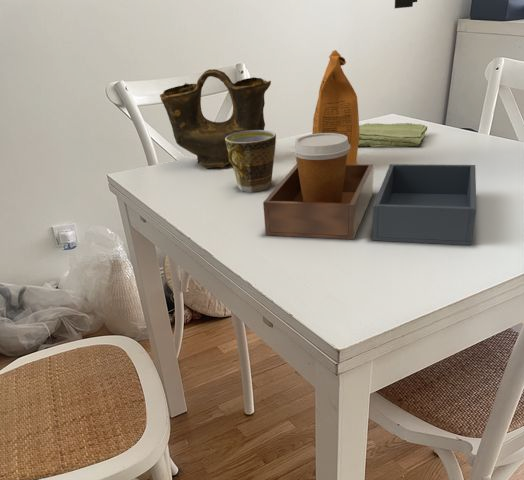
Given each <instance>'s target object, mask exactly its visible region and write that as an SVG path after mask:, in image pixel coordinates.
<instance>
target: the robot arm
mask: <svg viewBox="0 0 524 480" xmlns="http://www.w3.org/2000/svg"><path fill="white" fill-rule="evenodd" d="M417 2H418V0H394V9H403V8H413V7H414V3H417Z"/></svg>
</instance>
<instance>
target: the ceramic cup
mask: <svg viewBox="0 0 524 480" xmlns="http://www.w3.org/2000/svg"><path fill="white" fill-rule="evenodd" d="M225 141H226V145H227V149H228V153H229V161H230V162H229V164H231V165H232V168H233V172H234V176H235V179H236V184H237V186H238V188H239V189H240V191H241V192H245V193H246V192H247V193H254V192H261V191H265V190H267V189H269V188H270V187H271V186H272V181H273V170H274V162H275V161H274V159H275V154H276V145H277V144H276V142H277V134H276V133H275V132H274V131H271V130H266V129H264V130H250V131H243V132H238V133H234V134H231V135H229V136H227V137H226V138H225Z"/></svg>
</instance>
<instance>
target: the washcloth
mask: <svg viewBox="0 0 524 480" xmlns="http://www.w3.org/2000/svg"><path fill="white" fill-rule="evenodd" d="M427 131H428V125H425V124H420V123H413V122H410V123H409V122H406V123H405V122H404V123H378V122H377V123H368V122H367V123H364V124H359V145H358V147H371V148H377V147H385V148H386V147H387V148H398V147H401V148H402V147H406V148H407V147H415V146H416V147H418V146H419V145H420V144H421V142H422V140H423V138H424V137H425V136H426V132H427Z"/></svg>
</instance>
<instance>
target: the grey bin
mask: <svg viewBox="0 0 524 480" xmlns="http://www.w3.org/2000/svg"><path fill="white" fill-rule="evenodd" d="M476 177H477V176H476V164H422V163H421V164H420V163H419V164H418V163H417V164H412V163H411V164H408V163H407V164H406V163H405V164H404V163H390V164H389V166H388V168H387V170H386V174H385V176H384V179H383V181H382V184H381V186H380V188H379V191H378V192H377V193H378V194H377V196H376V199H375V201H374V203H373V206H372V231H371V232H372V233H371V240H372V241H377V242H399V243H419V244H420V243H421V244H439V245H459V246H460V245H461V246H472V240H473V234H474V227H475V222H476V221H475V220H476V214H477V178H476Z"/></svg>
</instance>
